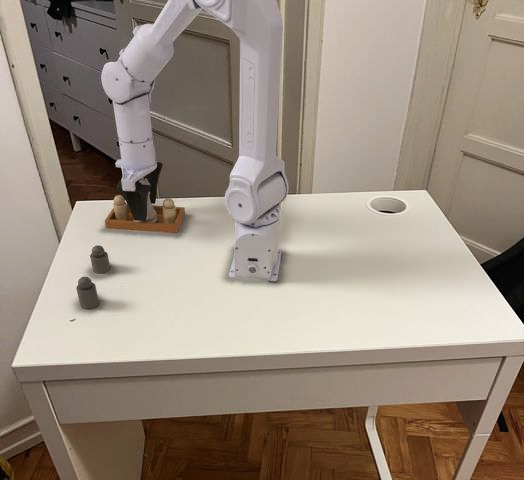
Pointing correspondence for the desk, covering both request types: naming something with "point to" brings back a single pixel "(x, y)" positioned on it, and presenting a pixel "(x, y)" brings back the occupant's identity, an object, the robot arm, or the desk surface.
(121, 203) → the ivory piece
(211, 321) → the desk surface
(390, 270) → the desk surface
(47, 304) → the desk surface
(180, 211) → the oak tray
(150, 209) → the rook chess piece
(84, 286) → the grey pawn
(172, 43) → the robot arm
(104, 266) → the grey pawn
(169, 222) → the ivory piece
